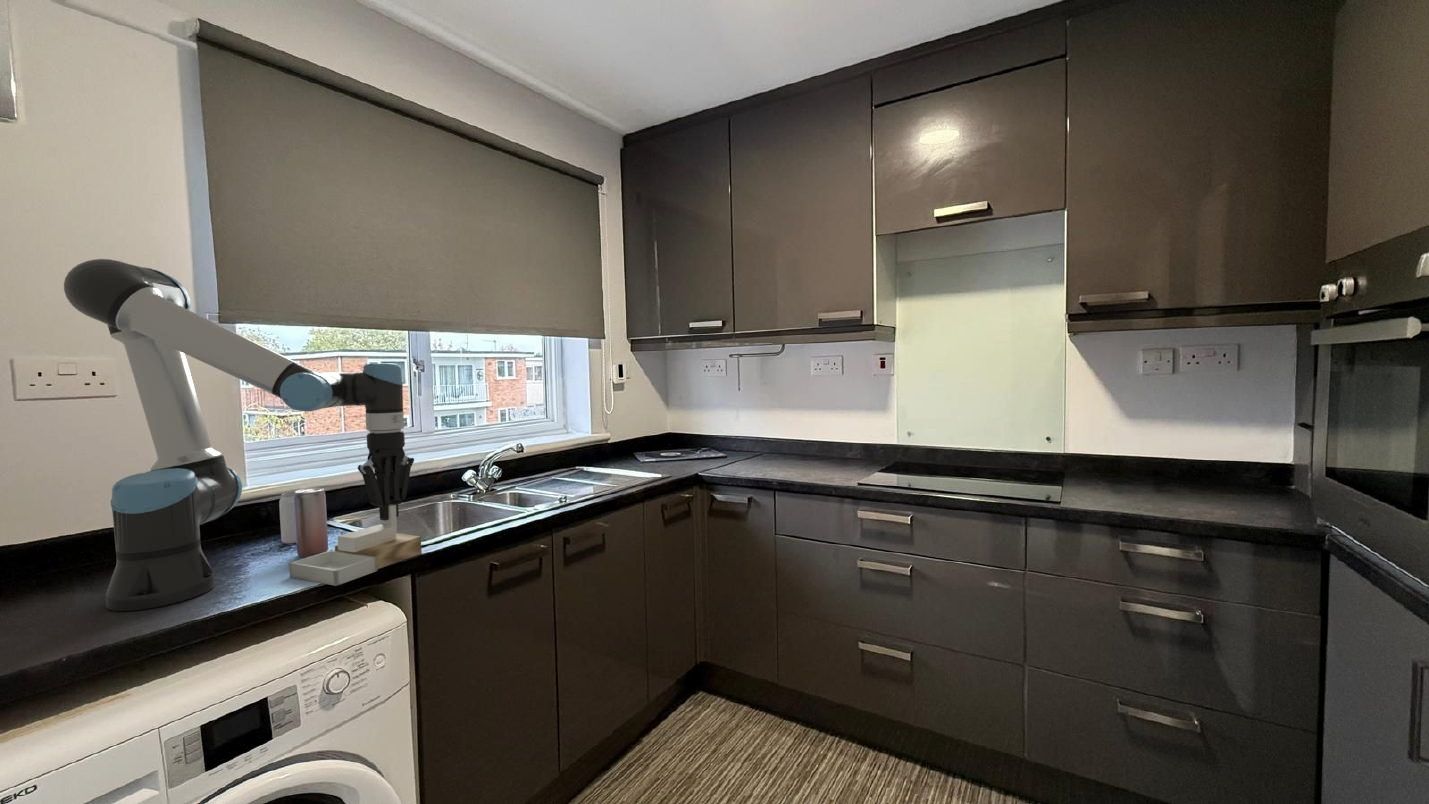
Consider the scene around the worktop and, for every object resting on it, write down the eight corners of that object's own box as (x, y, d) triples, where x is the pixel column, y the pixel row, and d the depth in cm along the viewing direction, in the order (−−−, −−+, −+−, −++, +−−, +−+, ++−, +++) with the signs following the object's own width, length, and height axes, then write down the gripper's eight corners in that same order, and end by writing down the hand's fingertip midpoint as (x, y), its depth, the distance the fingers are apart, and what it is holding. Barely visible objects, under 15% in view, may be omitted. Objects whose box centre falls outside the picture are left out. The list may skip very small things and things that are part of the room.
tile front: (354, 552, 123) (353, 538, 123) (338, 549, 125) (337, 536, 125) (375, 545, 128) (375, 532, 128) (359, 543, 130) (359, 530, 130)
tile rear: (376, 545, 128) (375, 532, 128) (360, 543, 130) (359, 530, 130) (396, 539, 133) (395, 526, 133) (380, 537, 135) (379, 524, 134)
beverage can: (291, 556, 134) (287, 492, 133) (317, 548, 140) (313, 487, 139) (308, 559, 132) (304, 493, 131) (334, 551, 137) (331, 488, 136)
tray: (336, 585, 115) (335, 571, 115) (289, 577, 120) (289, 562, 120) (377, 570, 124) (376, 557, 123) (332, 563, 129) (331, 550, 129)
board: (374, 570, 124) (373, 551, 124) (335, 563, 128) (334, 546, 128) (421, 553, 135) (420, 536, 135) (384, 548, 140) (383, 531, 139)
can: (296, 544, 143) (293, 496, 142) (274, 543, 144) (272, 495, 144) (319, 537, 149) (316, 491, 149) (298, 536, 151) (295, 490, 150)
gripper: (371, 434, 125) (376, 542, 127) (421, 428, 138) (425, 527, 139) (346, 433, 128) (351, 539, 130) (398, 427, 140) (402, 524, 142)
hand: (390, 532), depth 134 cm, fingers closed
